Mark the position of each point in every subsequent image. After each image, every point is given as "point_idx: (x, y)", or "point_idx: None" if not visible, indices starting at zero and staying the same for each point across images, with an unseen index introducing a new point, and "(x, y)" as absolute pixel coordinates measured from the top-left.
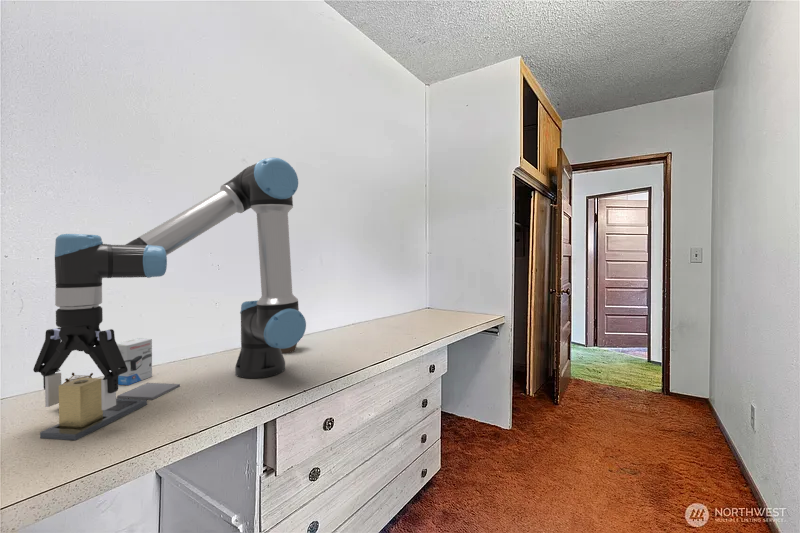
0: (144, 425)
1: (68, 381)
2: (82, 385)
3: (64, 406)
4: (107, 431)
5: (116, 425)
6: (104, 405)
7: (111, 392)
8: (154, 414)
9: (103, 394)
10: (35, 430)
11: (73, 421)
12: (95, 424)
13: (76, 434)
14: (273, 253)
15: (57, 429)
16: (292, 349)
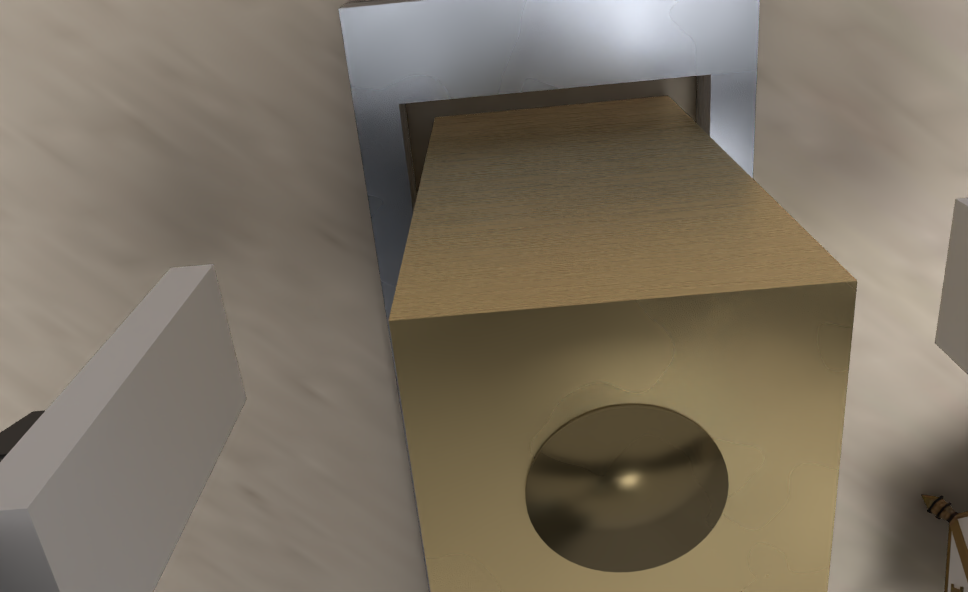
0: (58, 364)
1: None
2: (405, 368)
3: (656, 175)
4: (251, 211)
5: (296, 317)
6: (152, 290)
7: (28, 416)
8: (196, 532)
9: (109, 359)
10: (954, 84)
11: (519, 140)
12: (374, 224)
13: (342, 21)
14: None
15: (638, 57)
16: None
